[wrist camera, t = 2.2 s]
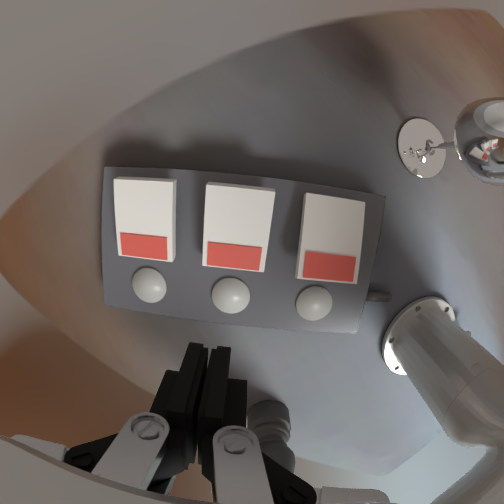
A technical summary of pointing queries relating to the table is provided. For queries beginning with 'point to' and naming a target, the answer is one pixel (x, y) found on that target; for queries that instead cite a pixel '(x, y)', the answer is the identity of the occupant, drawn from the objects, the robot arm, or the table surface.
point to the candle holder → (272, 431)
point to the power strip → (232, 280)
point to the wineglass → (459, 142)
